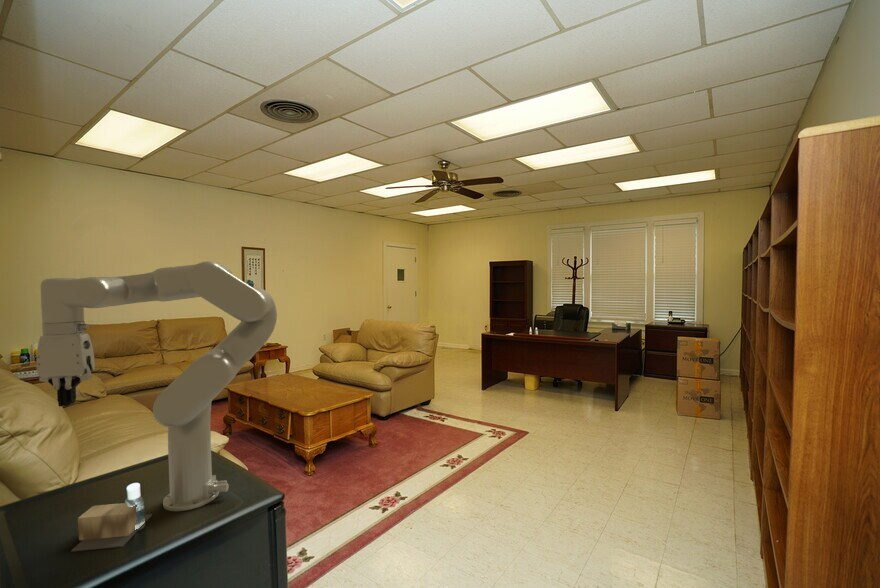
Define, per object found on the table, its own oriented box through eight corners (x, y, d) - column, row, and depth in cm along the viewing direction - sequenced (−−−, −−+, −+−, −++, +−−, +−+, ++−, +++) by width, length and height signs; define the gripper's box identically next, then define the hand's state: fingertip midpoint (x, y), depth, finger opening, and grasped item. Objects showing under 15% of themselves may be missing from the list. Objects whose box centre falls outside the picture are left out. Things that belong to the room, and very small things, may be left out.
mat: (152, 515, 101) (152, 514, 101) (122, 546, 89) (122, 545, 89) (107, 519, 100) (107, 517, 100) (71, 551, 88) (71, 550, 88)
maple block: (93, 526, 96) (141, 522, 98) (78, 540, 91) (129, 535, 93) (92, 505, 96) (140, 501, 97) (77, 518, 91) (128, 513, 92)
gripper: (108, 326, 105) (111, 398, 106) (41, 328, 103) (44, 401, 104) (87, 330, 98) (91, 407, 98) (15, 332, 96) (18, 411, 96)
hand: (67, 404), depth 101 cm, fingers closed
